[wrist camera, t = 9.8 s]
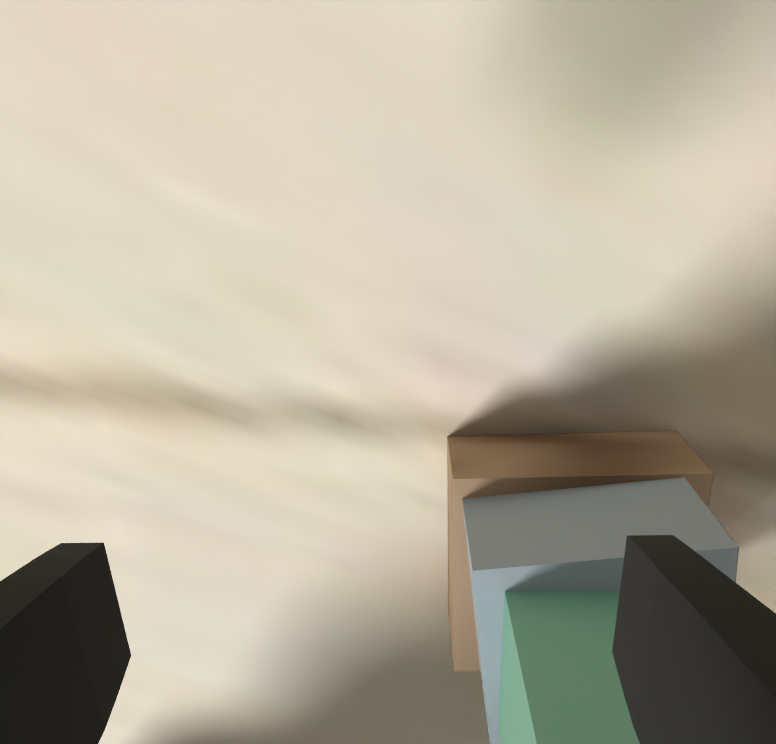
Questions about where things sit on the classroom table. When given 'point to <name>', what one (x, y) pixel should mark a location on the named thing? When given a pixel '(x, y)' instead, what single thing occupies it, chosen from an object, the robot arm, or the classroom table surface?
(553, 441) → the walnut base block
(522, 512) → the slate-grey block
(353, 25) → the classroom table surface
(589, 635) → the light green block
